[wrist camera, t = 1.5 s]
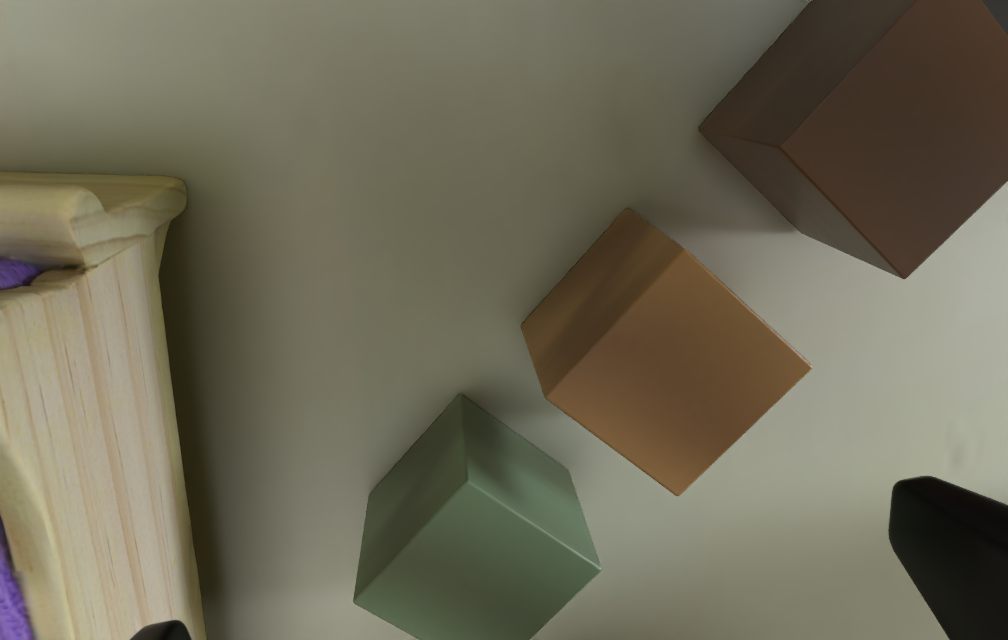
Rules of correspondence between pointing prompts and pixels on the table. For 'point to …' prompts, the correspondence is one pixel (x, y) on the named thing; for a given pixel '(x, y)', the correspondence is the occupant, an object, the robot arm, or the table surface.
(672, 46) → the table surface
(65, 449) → the toy sofa
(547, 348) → the block line
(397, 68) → the table surface
